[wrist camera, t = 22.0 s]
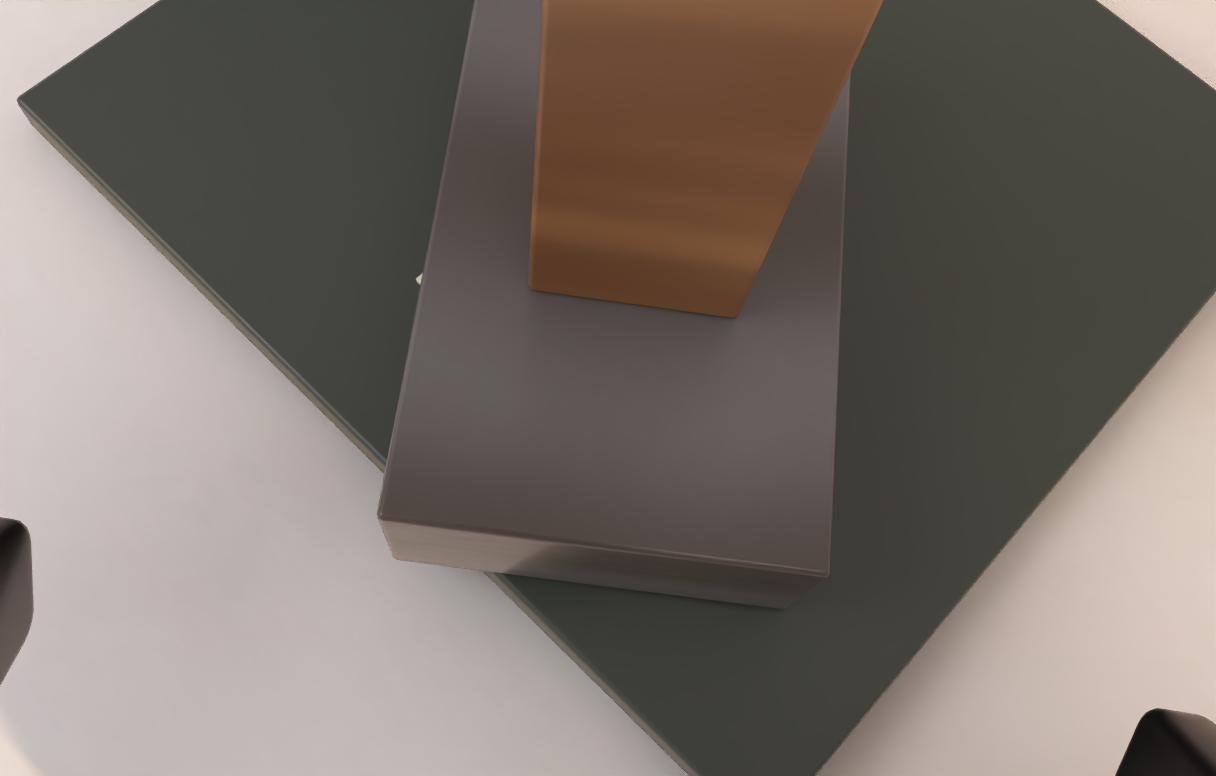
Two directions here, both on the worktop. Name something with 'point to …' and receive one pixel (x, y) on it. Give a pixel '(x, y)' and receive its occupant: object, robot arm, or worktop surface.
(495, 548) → the duster
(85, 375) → the worktop surface
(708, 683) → the slate board
